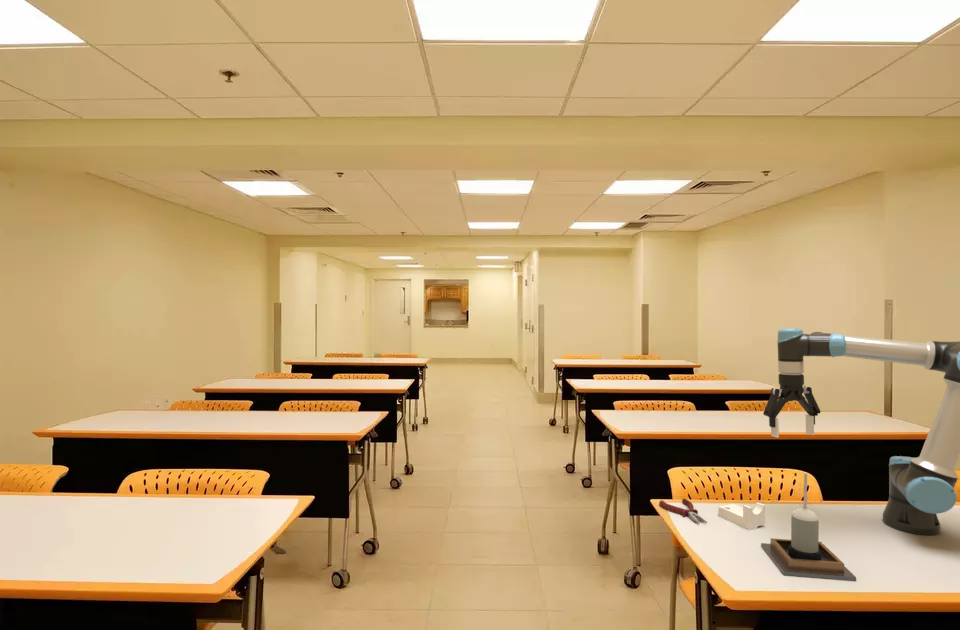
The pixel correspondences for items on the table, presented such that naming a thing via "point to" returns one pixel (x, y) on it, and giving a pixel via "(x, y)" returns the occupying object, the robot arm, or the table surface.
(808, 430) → the robot arm
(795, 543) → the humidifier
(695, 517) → the pliers
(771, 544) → the fitting nest
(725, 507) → the bracket
